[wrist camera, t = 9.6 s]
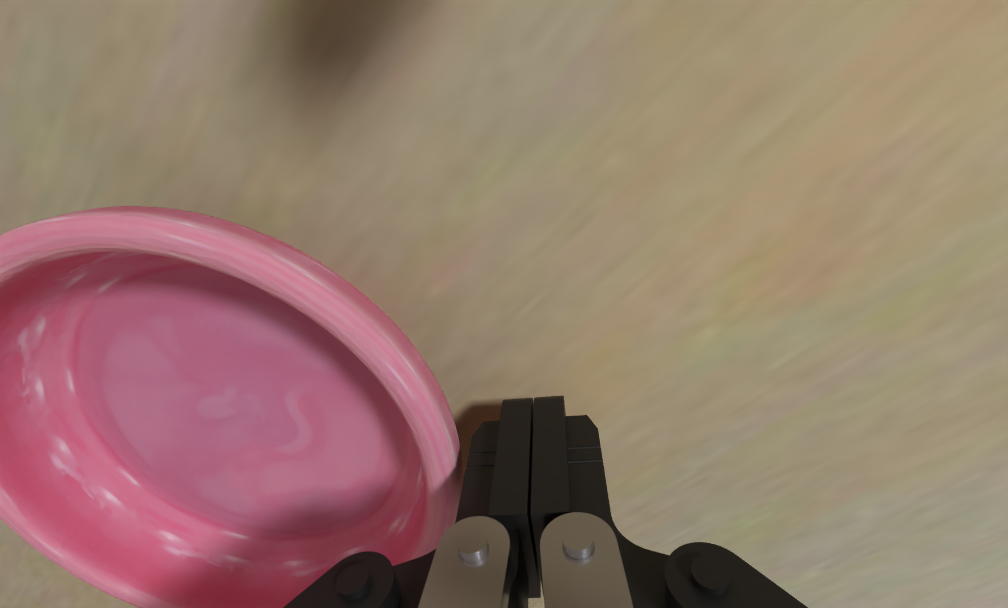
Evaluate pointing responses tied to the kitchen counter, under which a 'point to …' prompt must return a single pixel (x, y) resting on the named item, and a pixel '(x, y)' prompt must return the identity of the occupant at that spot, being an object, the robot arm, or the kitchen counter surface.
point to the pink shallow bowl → (208, 412)
